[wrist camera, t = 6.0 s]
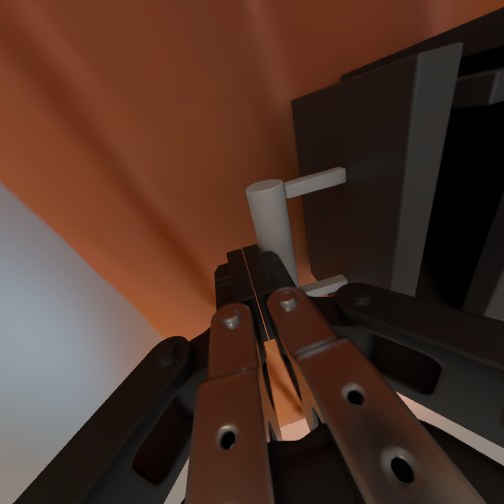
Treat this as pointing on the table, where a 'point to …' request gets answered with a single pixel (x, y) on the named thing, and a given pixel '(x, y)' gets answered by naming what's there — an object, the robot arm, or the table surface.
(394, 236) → the black drawer
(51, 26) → the table surface
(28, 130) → the table surface
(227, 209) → the table surface
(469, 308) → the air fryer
